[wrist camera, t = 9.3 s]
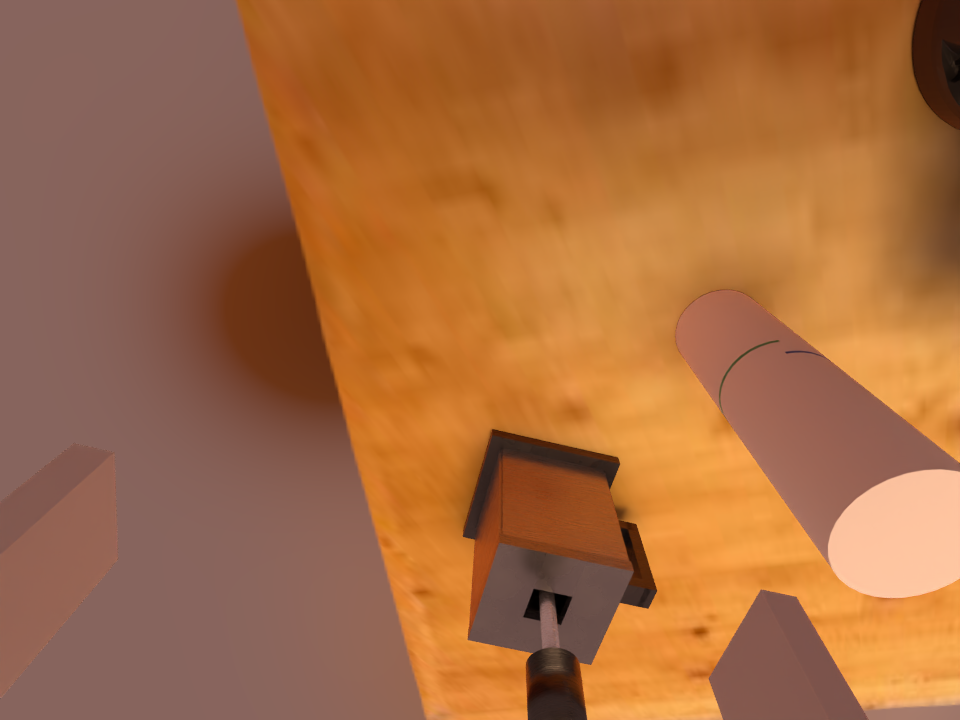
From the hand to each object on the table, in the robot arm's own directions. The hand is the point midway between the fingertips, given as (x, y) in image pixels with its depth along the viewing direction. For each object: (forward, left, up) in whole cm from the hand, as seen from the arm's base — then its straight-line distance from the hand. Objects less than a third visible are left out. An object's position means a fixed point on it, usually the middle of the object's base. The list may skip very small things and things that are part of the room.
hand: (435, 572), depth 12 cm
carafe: (-12, +24, -37) cm, 46 cm away
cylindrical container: (-21, +4, -37) cm, 43 cm away
